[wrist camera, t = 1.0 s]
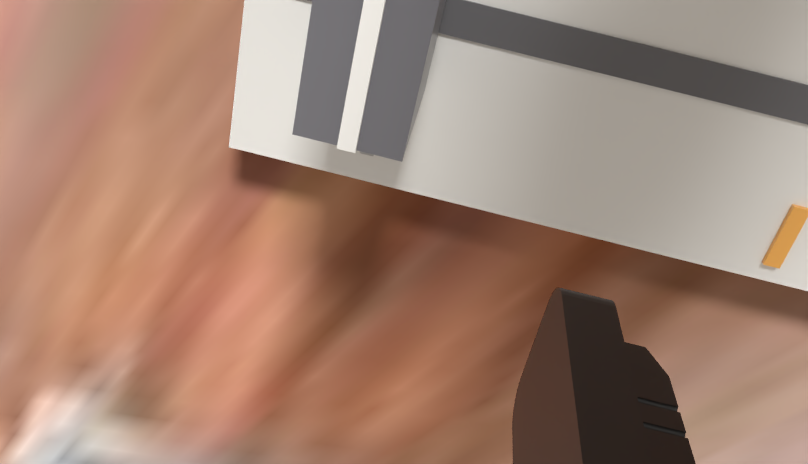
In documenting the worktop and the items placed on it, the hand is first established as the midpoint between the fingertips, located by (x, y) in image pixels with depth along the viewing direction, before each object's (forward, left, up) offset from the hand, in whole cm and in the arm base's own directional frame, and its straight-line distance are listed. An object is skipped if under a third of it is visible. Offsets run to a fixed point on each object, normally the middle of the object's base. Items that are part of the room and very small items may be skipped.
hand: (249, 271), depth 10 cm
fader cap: (0, 0, -16) cm, 16 cm away
